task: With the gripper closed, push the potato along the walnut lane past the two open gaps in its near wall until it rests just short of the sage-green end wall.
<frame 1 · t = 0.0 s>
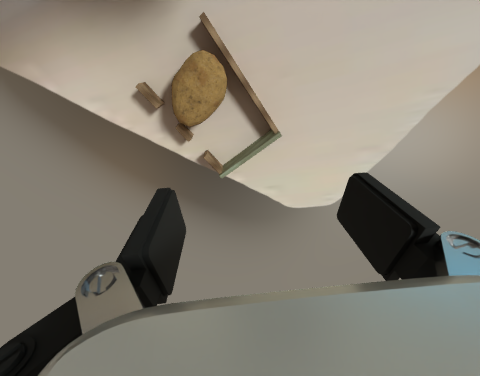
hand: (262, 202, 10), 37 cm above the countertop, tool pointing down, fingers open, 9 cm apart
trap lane: (215, 109, 42), on the countertop
potato: (200, 90, 40), on the countertop
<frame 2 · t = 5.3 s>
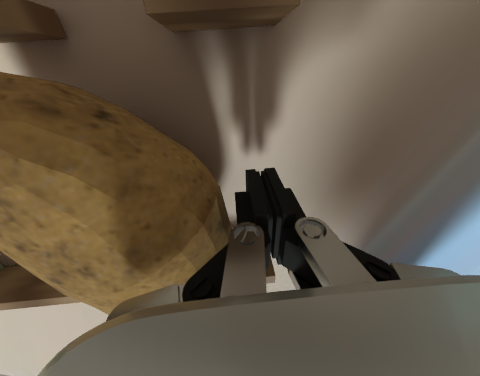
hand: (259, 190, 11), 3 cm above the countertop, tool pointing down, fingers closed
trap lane: (90, 184, 13), on the countertop
potato: (159, 177, 13), on the countertop, touching gripper
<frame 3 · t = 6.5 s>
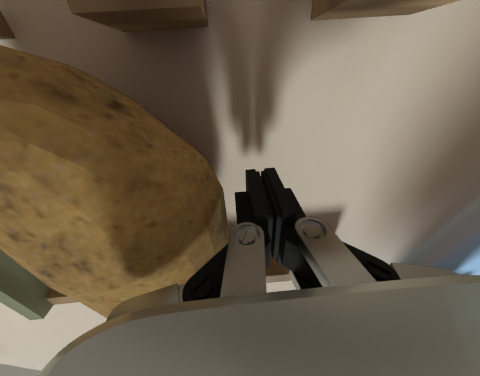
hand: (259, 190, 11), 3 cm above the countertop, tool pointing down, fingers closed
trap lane: (183, 176, 13), on the countertop
potato: (157, 172, 13), on the countertop, touching gripper
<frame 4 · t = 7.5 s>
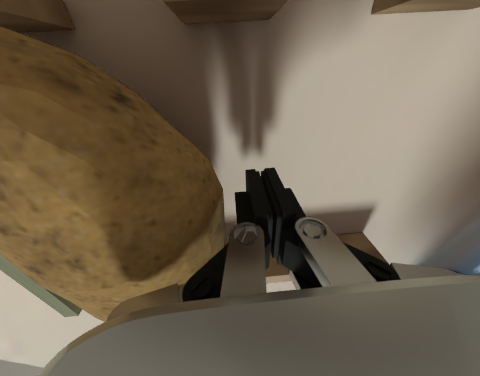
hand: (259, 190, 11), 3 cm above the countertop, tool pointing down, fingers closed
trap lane: (223, 172, 13), on the countertop
potato: (155, 169, 13), on the countertop, touching gripper
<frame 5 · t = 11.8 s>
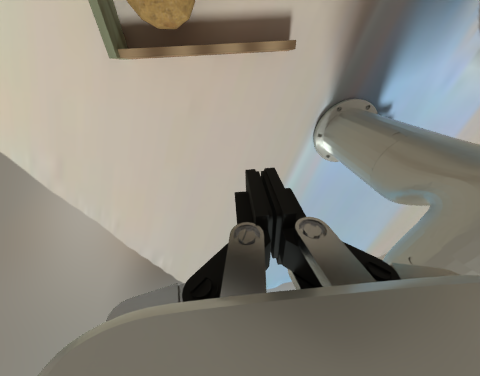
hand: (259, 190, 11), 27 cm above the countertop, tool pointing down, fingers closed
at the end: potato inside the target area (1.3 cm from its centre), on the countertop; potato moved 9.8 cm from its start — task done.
